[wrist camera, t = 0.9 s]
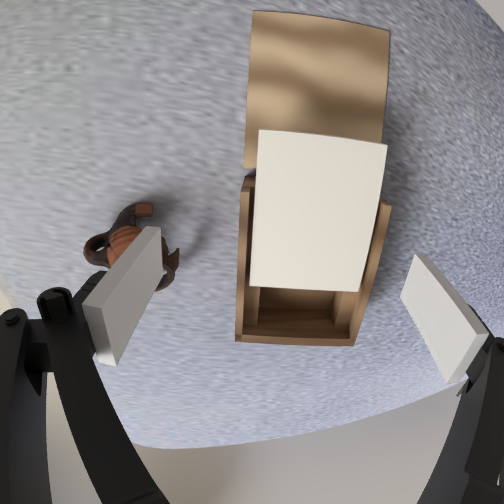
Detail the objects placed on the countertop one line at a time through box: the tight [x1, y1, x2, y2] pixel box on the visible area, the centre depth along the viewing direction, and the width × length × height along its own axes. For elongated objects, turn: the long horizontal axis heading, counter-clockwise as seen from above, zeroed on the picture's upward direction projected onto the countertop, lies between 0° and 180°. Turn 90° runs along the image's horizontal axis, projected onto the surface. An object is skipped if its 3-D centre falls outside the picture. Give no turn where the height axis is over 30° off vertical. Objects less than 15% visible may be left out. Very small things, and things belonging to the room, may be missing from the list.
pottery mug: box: [83, 203, 179, 292], centre depth 36 cm, size 12×10×8 cm
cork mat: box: [244, 11, 389, 169], centre depth 29 cm, size 18×15×1 cm
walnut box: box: [235, 176, 392, 346], centre depth 35 cm, size 18×15×6 cm
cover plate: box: [249, 128, 388, 292], centre depth 30 cm, size 16×12×2 cm
